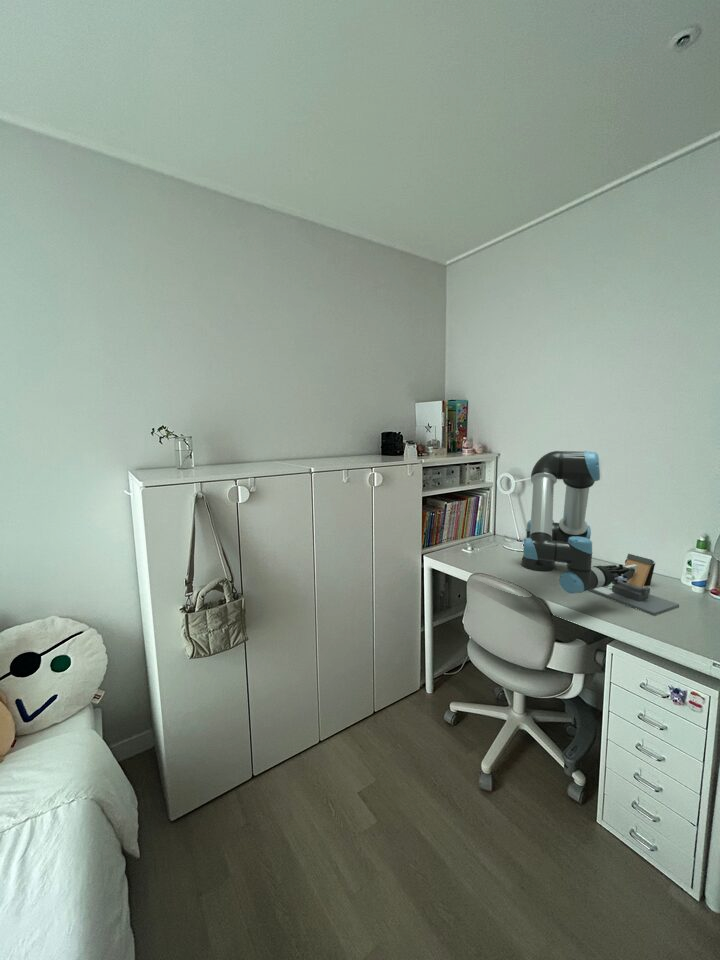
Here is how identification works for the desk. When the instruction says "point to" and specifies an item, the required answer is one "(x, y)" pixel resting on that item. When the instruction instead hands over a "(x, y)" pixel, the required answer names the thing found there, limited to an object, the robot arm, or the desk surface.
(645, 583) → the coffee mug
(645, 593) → the switch unit
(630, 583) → the paddle lever
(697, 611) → the desk surface
